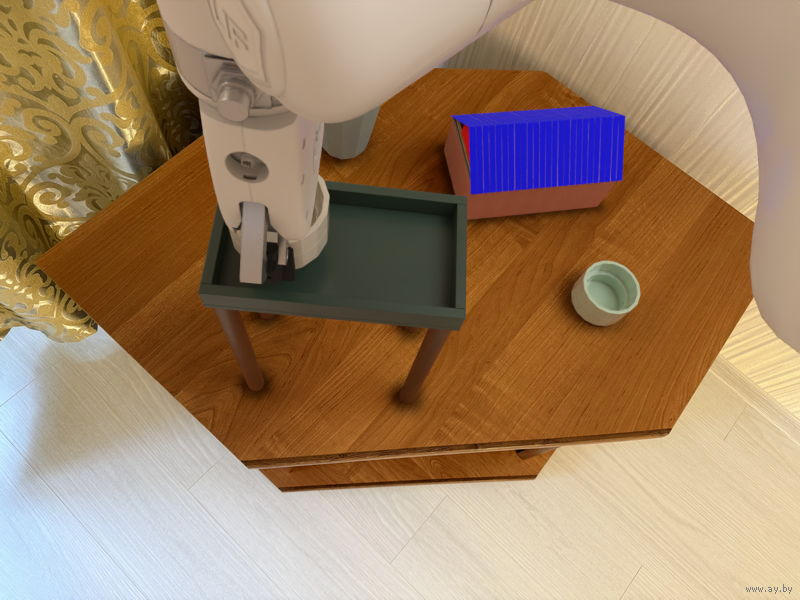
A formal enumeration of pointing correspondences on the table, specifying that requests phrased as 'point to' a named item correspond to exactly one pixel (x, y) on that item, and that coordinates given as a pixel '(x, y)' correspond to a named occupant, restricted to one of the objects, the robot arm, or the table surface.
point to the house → (535, 159)
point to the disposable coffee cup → (349, 135)
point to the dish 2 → (605, 293)
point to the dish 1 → (314, 239)
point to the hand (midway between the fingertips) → (280, 226)
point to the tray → (357, 273)
